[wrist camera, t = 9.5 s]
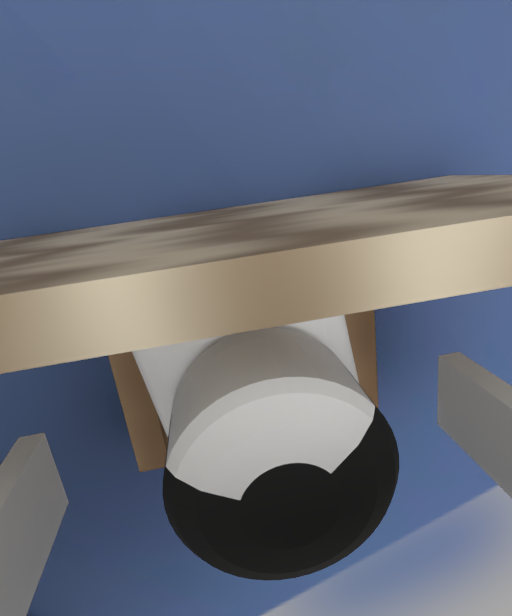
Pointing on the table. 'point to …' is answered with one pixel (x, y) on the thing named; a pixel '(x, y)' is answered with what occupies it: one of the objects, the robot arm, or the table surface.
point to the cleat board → (248, 277)
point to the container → (270, 448)
